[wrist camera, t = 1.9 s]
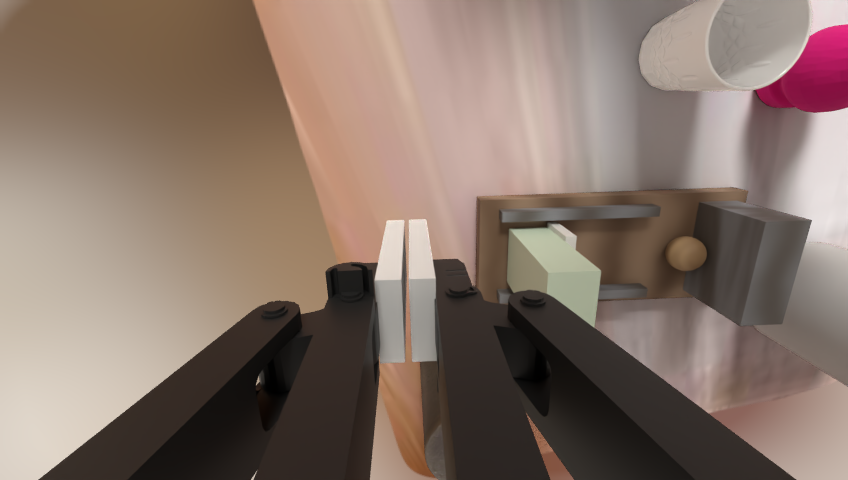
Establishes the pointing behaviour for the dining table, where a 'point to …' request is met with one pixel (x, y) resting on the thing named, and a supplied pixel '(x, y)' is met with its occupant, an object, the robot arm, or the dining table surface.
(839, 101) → the pink bowling pin
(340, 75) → the dining table surface
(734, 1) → the white cup
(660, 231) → the press bench
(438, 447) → the pillar candle
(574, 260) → the block
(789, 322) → the cylinder vase
